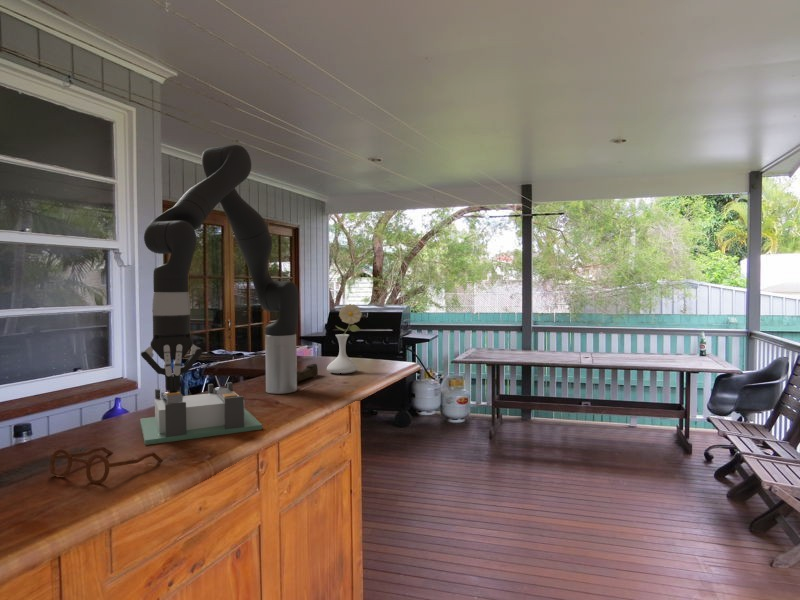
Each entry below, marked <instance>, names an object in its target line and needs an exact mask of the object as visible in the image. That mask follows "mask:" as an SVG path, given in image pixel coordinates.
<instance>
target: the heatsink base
mask: <svg viewBox="0 0 800 600" xmlns="http://www.w3.org/2000/svg"><path fill="white" fill-rule="evenodd" d="M226 385H227V386H226V387H227V388H228V389H229V390H230V391H231V392H233V393H235V394H236V395H237V397H227V398H224V401H223V400H222V399H221V398H220V397H219V396H218V395H217V394H216V393H214V384H213V383H207V393H203V394H201V393H200V394H191V395H182V397H183V402H176V403H167V399H165V398H161V388H154V416H152V417H143V418H140V419H139V420H140V421H139V423H140V428H141V432H142V436H143V438H142V439H143V441H144V445H145V446H148V445H154V444H155V445H156V444H162V443H169V442H170V443H171V442H178V441H185V440H193V439H194V440H195V439H201V438H206V437H214V436H221V435H223V436H224V435H228V434H237V433H245V432H252V431H259V430H263V424H262V423H261V422H260V421H259V420H258V419H256V417H255V416H254V415H253V414H252V413H251V412H250V411H248V410H247V409H246V402H245V399H244V398H245V397H244V396H243V395H239V394H238V393H236V391H234V389H233V388H234V386H233V382H231V381H230V382H229V381H228V382H226ZM177 392H181V393H182V387H181V386H180V389H179V390H177Z"/></svg>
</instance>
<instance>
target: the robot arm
mask: <svg viewBox="0 0 800 600" xmlns="http://www.w3.org/2000/svg"><path fill="white" fill-rule="evenodd" d="M201 164H202V165H201V166H202V169H203V173H204V175H205V177H206V178H204V179H203V180H201V181H200V182H198V183H196V184H195V185H193V186H192V187H190V188H189V189H188V190H187V191H185V193H183V195H181V197H180V198H179V199H178V200H177V202H175V204H174V205H173V206H172V207H171V208H169V209H167V210H165V211H164V212H162V213H161V214H159V215H158V216H157V217H154V219H152V220H151V221H150V222H149V224H148V225H147V227H146V228H145V230H144V234H143V241H144V244H145V247H146V248H147V249H148V250H149V251H151V252H152V253H154V254H158V255H161V254H162V255H165V254H166V255H167V254H168V255H169V254H170V256H169V258H168V261H167V262H166V263H164V264H160V265H157V266H156V267H155V268H154V269H153V281H152V282H153V297H152V340H151V342H150V345H149V347H147V348H146V349H145V350H142V351H141V352H140V356H141V357H142V358H143V360H144V361H146V362H147V364H148V365H149V366H150V367H151V369H153V370H154V372H155V373H156V374H158V375H163V376H164V377H165V389H166V392H169V393H177V390H179V389H180V387H181V375H182V374H184V373H188V372H189V371H190V370H191V368H192V367H193V366H194V364H195V363H196V362H197V360H199V358H200V357H201V355H202V354H203V353H204V350H203V349H202V348H201V347H199V346H197V345H195V344H194V341H193V339H192V337H191V311H192V310H191V299H190V292H189V289H190V288H189V287H190V285H189V283H190V282H189V280H190V279H189V273H190V269H191V266H192V263H193V257H194V255H195V251H196V248H197V247H196V246H197V234H196V233H197V232H196V230H197V229H199V228H200V227H201V226H202V225H203V224H204V222H205V221H206V220H207V218H208V217H209V215H210V214H211V213H212V211H213V210H214V209H215V207H217V205H218V204H220V205H221V207H222V210H223V212H224V214H225V216H226V218H227V220H228V223H229V225H230V227H231V230H232V233H233V236H234V239H235V240H236V243H237V245H238V248H239V250H240V252H241V253H242V256H243V259H244V260H245V263H246V265H247V269H248V271H249V274H250V277H251V280H252V284H253V287H254V290H255V293H256V297H257V300H258V302H259V305H260V306H261V308H262V309H263V310H264V311H267V312H271V313H274V312H275V313H279V314H278V318H277V319H276V320H275V321H274V322H272V323H269V324H267V325H266V326H265V328H264V340H265V341H264V343H265V345H264V347H265V349H264V350H265V355H264V356H265V392H266V393H268V394H278V395H279V394H290V393H295V392H296V391H297V390H298V382H297V372H298V367H297V366H298V365H297V364H298V362H297V361H298V360H297V358H298V357H297V328H298V322H299V305H300V303H299V302H300V299H299V290H298V287H297V284H295V283H294V282H293V281H289V280H288V281H287V280H285V281H282V280H278V281H276V280H275V281H274V280H273V278H272V277H271V274H270V271H269V267H268V266H269V262H270V261H269V260H270V257H271V254H272V249H273V239H272V236H271V233H270V231H269V228H268V225H267V222H266V221H265V219H264V217H263V216H262V215H261V214H260V213H259V212H258V211H257V210H256V209H254V208H253V206H251V205H250V204H249V203H248V202H247V201H246V200H245V199H243V198H242V197H241V195H240V194H239V192H238V191H237V190H236V187H238V186H239V185H241V184H242V183H243V182H244V181H245V180H246V179H247V178H248V177H249V176H250V174H251V171H252V159H251V156H250V154H249V152H248V150H247V149H246V147H244V146H242V145H239V144H228V145H221V146H214V147H209V148H206V149H204V151H203V152H202V154H201ZM189 351H190V352H189ZM188 352H189V354H190V356H189V357H188V359H187V360H186V361H185V363H184V364H183V365H182V359H184V357H185V356H186V355H187V353H188ZM154 353H156V354H157V356H158V357H159V358H160V359H161V360H163V367H161V365H159V364H158V363H157V362H156V361H155V359H154V358H153V357H155V356H154ZM172 360H173V369H172ZM181 365H182V366H181ZM172 370H173V371H172Z"/></svg>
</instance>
